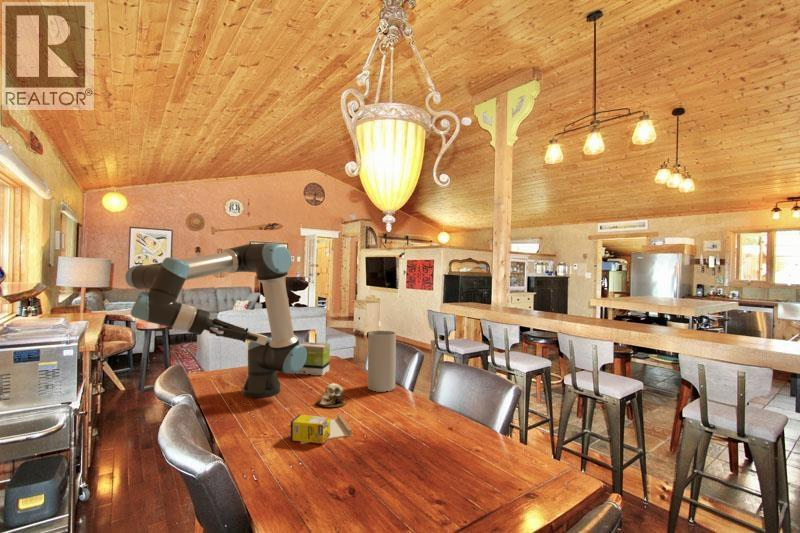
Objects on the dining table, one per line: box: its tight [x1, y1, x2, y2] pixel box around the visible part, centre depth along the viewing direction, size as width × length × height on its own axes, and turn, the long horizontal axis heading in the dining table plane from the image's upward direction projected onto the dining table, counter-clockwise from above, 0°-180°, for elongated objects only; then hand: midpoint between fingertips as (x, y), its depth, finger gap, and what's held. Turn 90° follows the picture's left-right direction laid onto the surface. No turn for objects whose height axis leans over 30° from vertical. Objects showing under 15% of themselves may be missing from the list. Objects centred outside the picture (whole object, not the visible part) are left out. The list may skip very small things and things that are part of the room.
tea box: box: [296, 341, 331, 376], centre depth 195 cm, size 15×10×15 cm, turn 81°
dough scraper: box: [299, 414, 352, 445], centre depth 126 cm, size 16×14×2 cm
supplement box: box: [290, 414, 331, 444], centre depth 119 cm, size 6×6×11 cm
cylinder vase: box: [367, 330, 397, 393], centre depth 172 cm, size 12×12×25 cm
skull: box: [315, 382, 348, 408], centre depth 152 cm, size 12×10×10 cm
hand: (266, 340), depth 127 cm, fingers closed
